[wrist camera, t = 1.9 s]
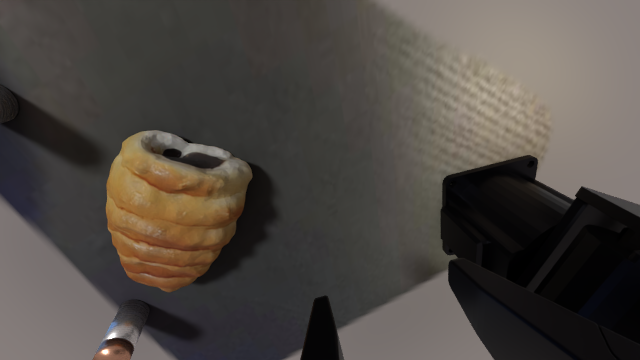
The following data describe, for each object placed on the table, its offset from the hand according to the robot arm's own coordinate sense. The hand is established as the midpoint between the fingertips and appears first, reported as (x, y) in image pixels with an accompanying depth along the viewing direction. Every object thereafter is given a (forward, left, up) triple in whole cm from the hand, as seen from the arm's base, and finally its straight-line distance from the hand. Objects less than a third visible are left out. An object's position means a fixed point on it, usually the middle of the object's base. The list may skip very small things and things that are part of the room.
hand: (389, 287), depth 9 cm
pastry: (+8, 0, -10) cm, 14 cm away
